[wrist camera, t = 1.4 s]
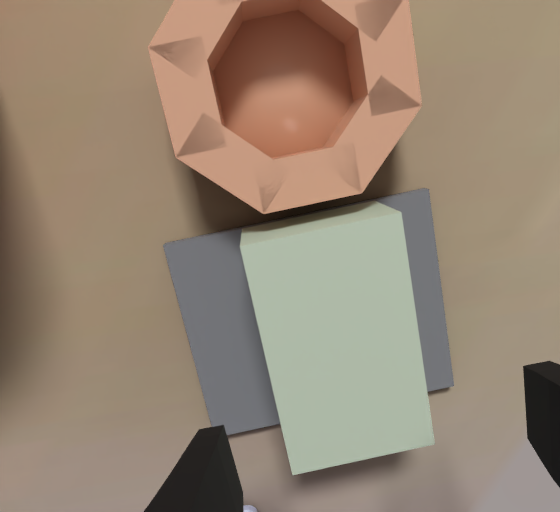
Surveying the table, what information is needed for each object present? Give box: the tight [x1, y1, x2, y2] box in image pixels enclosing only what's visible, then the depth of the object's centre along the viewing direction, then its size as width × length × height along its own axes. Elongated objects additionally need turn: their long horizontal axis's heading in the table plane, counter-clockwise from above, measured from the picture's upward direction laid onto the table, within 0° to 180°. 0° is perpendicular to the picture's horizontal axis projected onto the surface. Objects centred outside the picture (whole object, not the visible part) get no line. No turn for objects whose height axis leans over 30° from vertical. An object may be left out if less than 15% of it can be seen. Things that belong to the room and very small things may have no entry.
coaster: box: [163, 188, 454, 435], centre depth 20 cm, size 9×11×1 cm
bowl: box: [148, 0, 422, 214], centre depth 17 cm, size 8×8×3 cm
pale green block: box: [240, 201, 435, 475], centre depth 18 cm, size 9×6×4 cm, turn 12°
